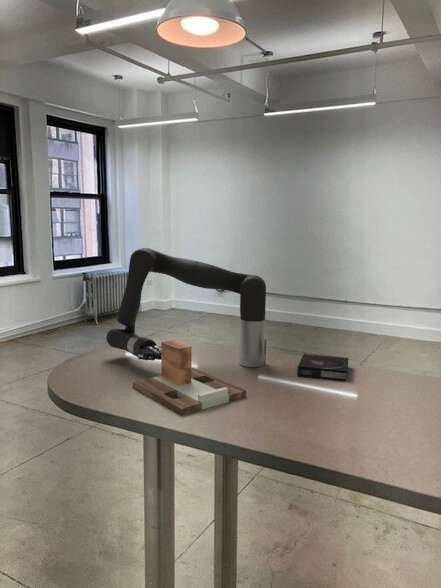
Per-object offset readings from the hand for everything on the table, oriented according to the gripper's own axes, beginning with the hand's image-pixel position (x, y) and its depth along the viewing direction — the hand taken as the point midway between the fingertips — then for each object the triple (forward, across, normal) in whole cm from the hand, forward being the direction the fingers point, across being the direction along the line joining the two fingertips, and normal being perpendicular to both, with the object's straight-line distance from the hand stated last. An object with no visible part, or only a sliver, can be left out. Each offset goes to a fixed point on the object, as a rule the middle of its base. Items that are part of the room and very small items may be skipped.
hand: (167, 358), depth 162 cm
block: (+5, 0, +6) cm, 8 cm away
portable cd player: (+24, +51, +9) cm, 57 cm away
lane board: (+12, 0, +8) cm, 14 cm away
